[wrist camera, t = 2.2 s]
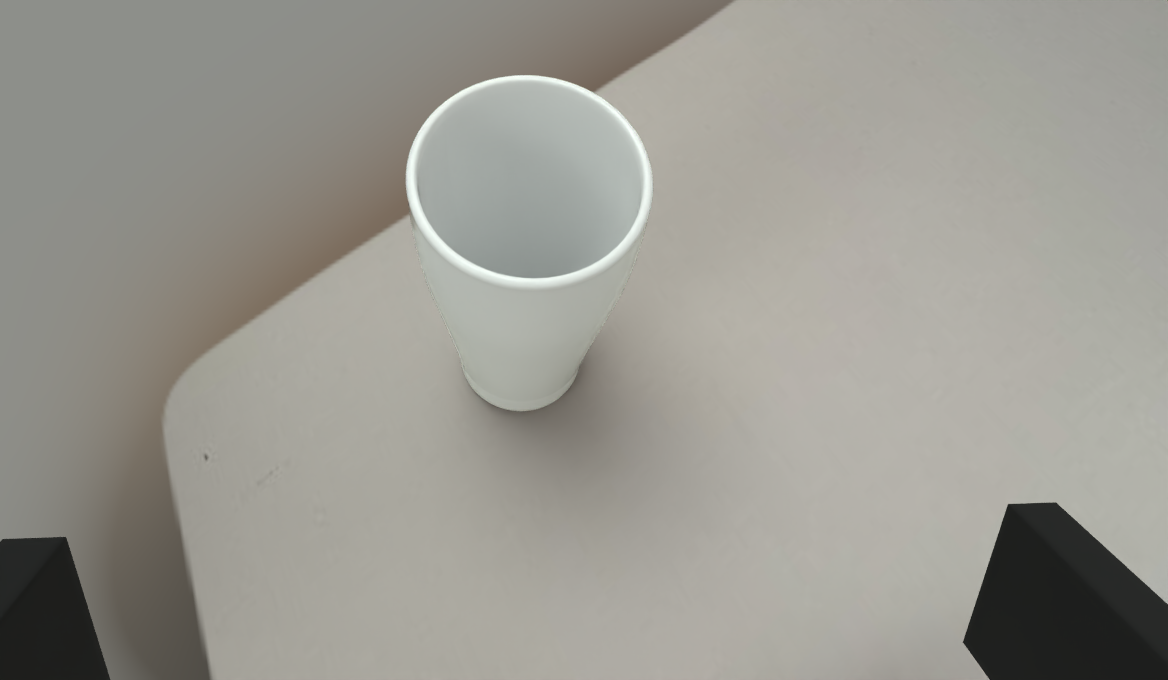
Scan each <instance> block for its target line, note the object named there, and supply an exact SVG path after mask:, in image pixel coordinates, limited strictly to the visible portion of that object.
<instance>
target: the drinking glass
mask: <svg viewBox="0 0 1168 680" xmlns="http://www.w3.org/2000/svg"><path fill="white" fill-rule="evenodd" d="M406 191H407V198H408V205H409V212H410V220H411V227H412V232H413V237H414V242H415V246H416V250H417V254H418V258H419V262H420V265H421V269H422V272H423V274H424V277H425V280H426V283H427V285H428V288H429V290H430V293H431V295H432V297H433V300H434V302H435V304H436V306H437V308H438V310H439V313H440V315H441V317H442V319H443V321H444V323H445V326H446V328H447V330H448V332H449V334H450V337H451V339H452V341H453V343H454V346H455V348H456V350H457V352H458V355H459V357H460V363H461V367H462V370H463V373H464V375H465V377H466V379H467V381H468V383H469V384H470V386H471V387H472V388H473V390H474V391H475V392H476V393H477V394H478V395H479V396H480V397H482V398H483V399H484V400H486V401H487V402H489V403H490V404H492V405H494V406H497V407H499V408H502V409H506V410H511V411H530V410H535V409H539V408H542V407H545V406H547V405H549V404H551V403H553V402H554V401H556V400H557V399H558V398H560V397H561V396H562V395H563V394H564V393H565V392H566V391H567V390H568V389H569V387H570V386H571V385H572V383H573V381H574V380H575V378H576V376H577V373H578V371H579V368H580V364H581V362H582V361H583V359H584V357H585V355H586V354H587V352H588V350H589V349H590V347H591V345H592V344H593V342H594V340H595V339H596V337H597V335H598V334H599V332H600V330H601V329H602V327H603V325H604V324H605V322H606V321H607V319H608V317H609V316H610V314H611V312H612V310H613V309H614V307H615V305H616V304H617V302H618V300H619V298H620V296H621V294H622V292H623V290H624V288H625V286H626V284H627V282H628V279H629V277H630V275H631V272H632V270H633V267H634V265H635V262H636V259H637V256H638V253H639V250H640V246H641V243H642V240H643V236H644V233H645V229H646V224H647V220H648V216H649V213H650V209H651V204H652V198H653V176H652V169H651V165H650V161H649V157H648V155H647V152H646V149H645V147H644V145H643V143H642V141H641V139H640V137H639V136H638V134H637V132H636V131H635V129H634V128H633V127H632V125H631V124H630V123H629V121H628V120H627V119H626V118H625V117H624V116H623V115H622V114H621V113H620V112H619V111H618V110H617V109H616V108H615V107H614V106H612V105H611V104H610V103H608V102H607V101H606V100H604V99H603V98H601V97H600V96H598V95H596V94H595V93H593V92H591V91H589V90H587V89H585V88H583V87H581V86H578V85H576V84H573V83H570V82H567V81H564V80H560V79H555V78H551V77H544V76H534V75H516V76H506V77H501V78H495V79H491V80H487V81H483V82H481V83H478V84H475V85H473V86H470V87H469V88H466V89H464V90H462V91H460V92H458V93H457V94H455V95H453V96H452V97H451V98H449V99H448V100H446V101H445V102H444V103H443V104H442V105H440V106H439V107H438V108H437V109H436V110H435V111H434V112H433V113H432V114H431V115H430V116H429V117H428V119H427V120H426V121H425V123H424V124H423V126H422V127H421V129H420V130H419V132H418V134H417V136H416V138H415V140H414V142H413V144H412V147H411V150H410V153H409V157H408V162H407V168H406Z"/></svg>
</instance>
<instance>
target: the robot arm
mask: <svg viewBox="0 0 1168 680" xmlns="http://www.w3.org/2000/svg"><path fill="white" fill-rule="evenodd" d="M963 643H964V644H965V646H966V647H967V648H968V650H969V651H970V653H971V654H972V655H973V657H974V658H975V660H976V661H977V662H978V664H979V665H980V667H981V668H982V669H983V671H984V672H985V674H986V675H987V676H988V678H989V679H990V680H1168V604H1167V603H1165V602H1164V601H1163V600H1162V599H1161V598H1160V597H1159V596H1158V595H1157V594H1156V593H1155V592H1153V591H1152V590H1151V589H1150V588H1149V587H1148V586H1147V585H1146V584H1145V583H1144V582H1142V581H1141V580H1140V579H1139V578H1138V577H1137V576H1136V575H1135V574H1134V573H1133V572H1132V571H1130V570H1129V569H1128V568H1127V567H1126V566H1125V565H1124V564H1123V563H1122V562H1121V561H1119V560H1118V559H1117V558H1116V557H1115V556H1114V555H1113V554H1112V553H1111V552H1110V551H1108V550H1107V549H1106V548H1105V547H1104V546H1103V545H1102V544H1101V543H1100V542H1099V541H1098V540H1096V539H1095V538H1094V537H1093V536H1092V535H1091V534H1090V533H1089V532H1088V531H1087V530H1085V529H1084V528H1083V527H1082V526H1081V525H1080V524H1079V523H1078V522H1077V521H1076V520H1075V519H1073V518H1072V517H1071V516H1070V515H1069V514H1068V513H1067V512H1066V511H1065V510H1064V509H1062V508H1061V507H1060V506H1059V505H1058V504H1057V503H1028V504H1008V506H1007V509H1006V512H1005V515H1004V518H1003V521H1002V525H1001V528H1000V531H999V534H998V537H997V540H996V543H995V546H994V549H993V552H992V555H991V558H990V561H989V564H988V567H987V570H986V573H985V577H984V580H983V583H982V586H981V589H980V592H979V595H978V598H977V601H976V604H975V607H974V610H973V613H972V616H971V619H970V622H969V625H968V629H967V632H966V635H965V638H964V641H963ZM0 680H110V678H109V674H108V671H107V668H106V665H105V661H104V658H103V655H102V652H101V648H100V645H99V642H98V639H97V635H96V632H95V629H94V626H93V622H92V619H91V616H90V613H89V610H88V606H87V603H86V600H85V597H84V593H83V590H82V587H81V584H80V580H79V577H78V574H77V571H76V568H75V564H74V561H73V558H72V555H71V551H70V548H69V545H68V542H67V539H66V537H53V538H24V539H3V540H2V541H1V542H0Z"/></svg>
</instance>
